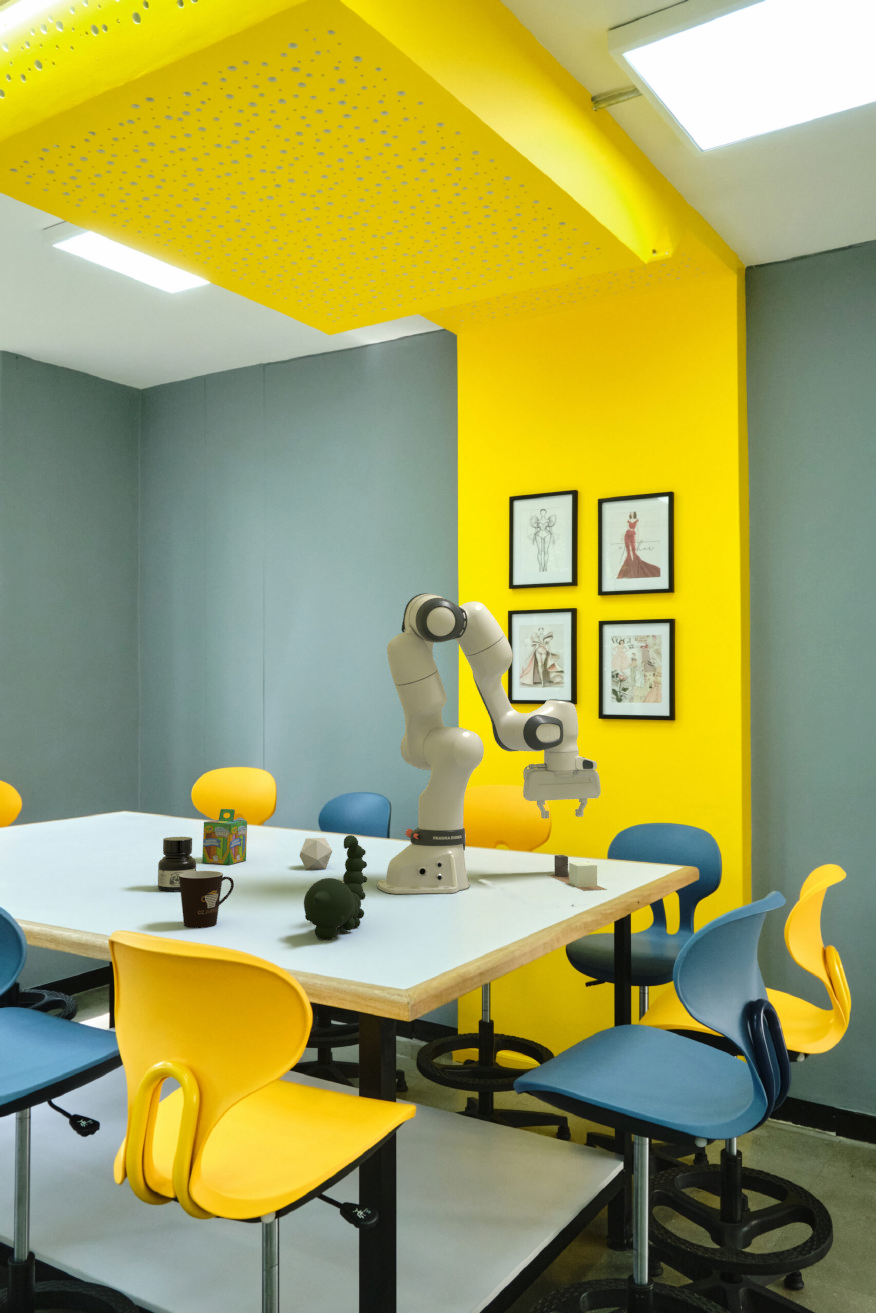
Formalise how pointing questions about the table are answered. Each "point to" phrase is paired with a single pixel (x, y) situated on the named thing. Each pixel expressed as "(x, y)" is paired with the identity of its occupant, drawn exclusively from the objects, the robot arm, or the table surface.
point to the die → (315, 853)
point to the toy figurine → (338, 896)
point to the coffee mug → (201, 897)
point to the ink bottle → (175, 862)
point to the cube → (583, 874)
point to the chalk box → (224, 840)
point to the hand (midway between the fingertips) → (562, 817)
